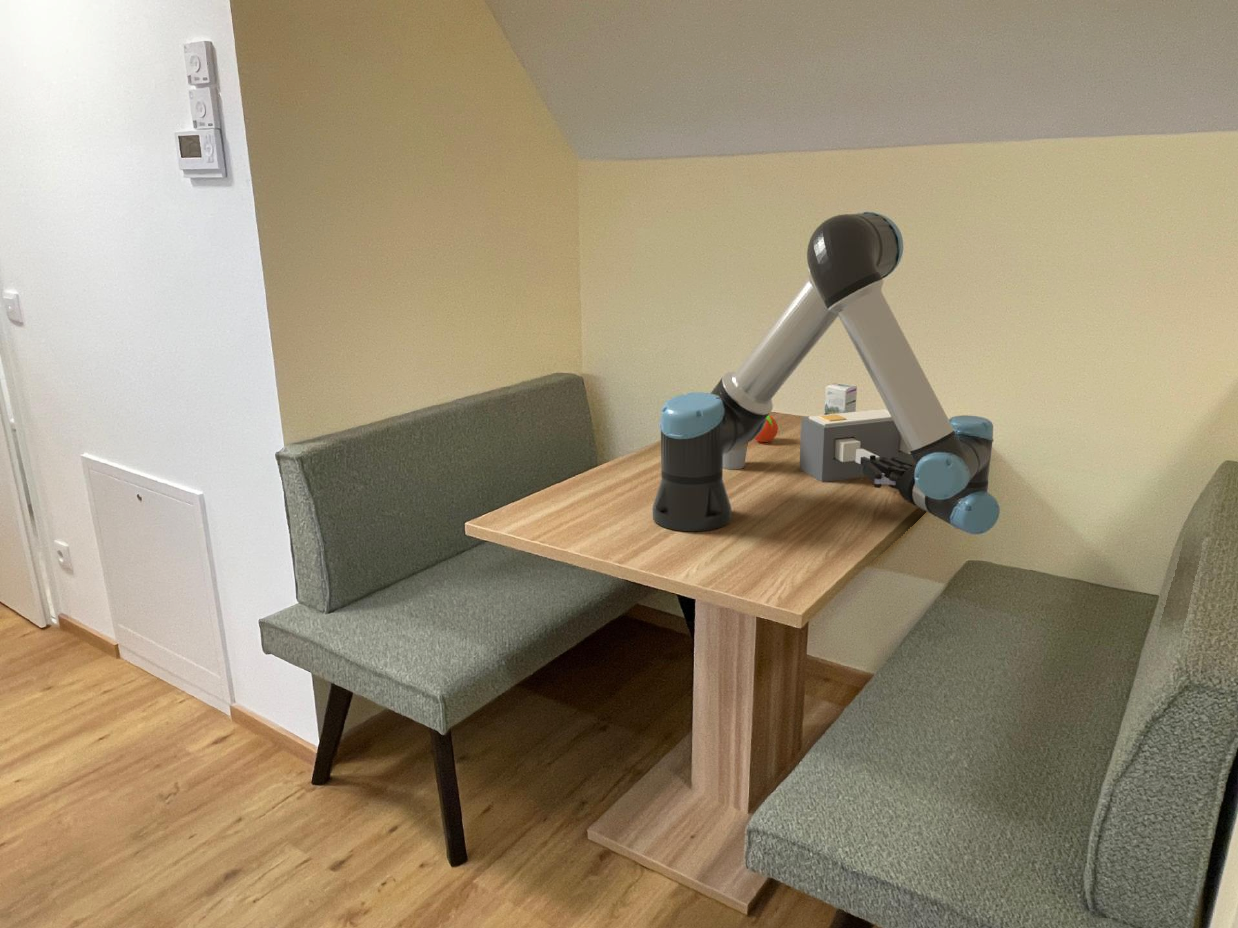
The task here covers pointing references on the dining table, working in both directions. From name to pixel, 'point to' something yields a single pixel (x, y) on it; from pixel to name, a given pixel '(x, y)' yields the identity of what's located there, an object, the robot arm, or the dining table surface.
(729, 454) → the coffee cup
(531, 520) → the dining table surface
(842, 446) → the left button
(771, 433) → the clementine
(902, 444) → the right button
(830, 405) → the syrup box
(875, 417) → the console
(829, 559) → the dining table surface
